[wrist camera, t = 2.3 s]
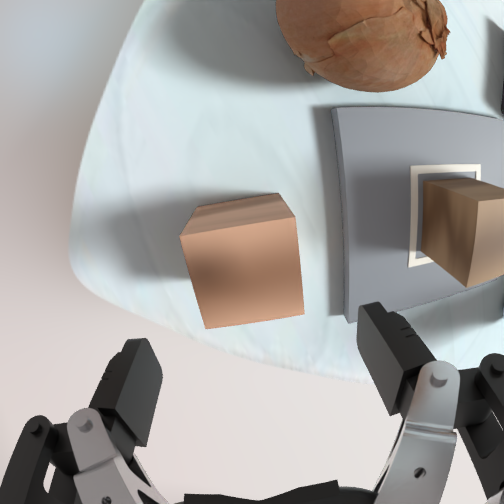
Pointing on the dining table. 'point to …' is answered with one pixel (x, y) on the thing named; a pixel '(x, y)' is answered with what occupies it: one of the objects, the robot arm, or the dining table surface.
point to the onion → (365, 39)
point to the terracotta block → (244, 261)
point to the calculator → (503, 105)
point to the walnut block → (464, 228)
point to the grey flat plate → (403, 196)
